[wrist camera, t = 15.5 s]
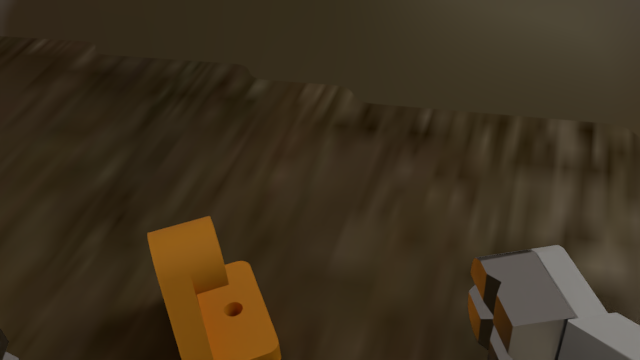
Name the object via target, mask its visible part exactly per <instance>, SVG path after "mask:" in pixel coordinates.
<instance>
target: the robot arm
mask: <svg viewBox="0 0 640 360" xmlns="http://www.w3.org/2000/svg"><path fill="white" fill-rule="evenodd" d="M471 276H472V278H473V280H474V282H475V285H474V286H473V288H472V289H471V290H470V291H469V296H468V309H469V317H470V322H471V326H472V329H473V332H474V335H475V337H476V340H477V342H478V344H480V345H481V346H483V347H484V348H486V349H487V350H488V358H487V360H640V325H638V324H636V323H634V322H633V321H631V320H629V319H627V318H626V317H624V316H622V315H620V314H618V313H607V311H606V310H605V308H604V307H603V305H602V304H601V302H600V301H599V299H598V298H597V296H596V295H595V294H594V292H593V291H592V289H591V288H590V286H589V285H588V283H587V282H586V280H585V279H584V277H583V276H582V274H581V273H580V272H579V270H578V269H577V267H576V266H575V264H574V263H573V261H572V260H571V258H570V257H569V255H568V254H567V252H566V251H565V250H564V248H562V247H561V246H559V245H555V246H548V247H542V248H535V249H530V250H522V251H515V252H509V253H502V254H496V255H490V256H483V257H477V258H474V260H473V262H472V267H471ZM8 343H9V341H8V339H7V338H6V336H5V335H4V333H3V332H2V330H1V329H0V360H20V359H19V358H17V357H15V356H13V355H11V354H9V353H7V352H6V349H7V346H8Z"/></svg>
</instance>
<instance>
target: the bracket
mask: <svg viewBox="0 0 640 360" xmlns="http://www.w3.org/2000/svg"><path fill="white" fill-rule="evenodd" d="M147 235H148V242H149V246H150V251H151V255H152V259H153V263H154V267H155V271H156V274H157V278H158V281H159V285H160V288H161V292H162V295H163V298H164V302H165V305H166V308H167V312H168V315H169V319H170V322H171V325H172V329H173V332H174V336H175V339H176V342H177V346H178V349H179V353H180V356H181V359H182V360H281V352H280V347H279V341H278V338H277V335H276V332H275V330H274V327H273V324H272V322H271V319H270V317H269V314H268V311H267V309H266V306H265V303H264V301H263V298H262V295H261V293H260V290H259V288H258V285H257V282H256V280H255V277H254V274H253V272H252V269H251V267H250V264H249V263H247V262H245V261H237V262H233V263H230V264H226V265H224V261H223V257H222V254H221V250H220V246H219V243H218V239H217V236H216V233H215V229H214V226H213V223H212V220H211V218H210V216H207V217H204V218H200V219H197V220H193V221H189V222H186V223H182V224H178V225H175V226H171V227H167V228H164V229H160V230H157V231H153V232H149V233H147Z"/></svg>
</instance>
